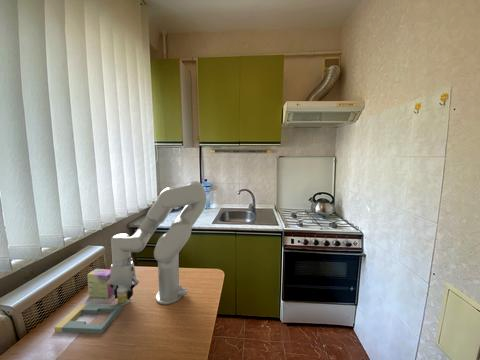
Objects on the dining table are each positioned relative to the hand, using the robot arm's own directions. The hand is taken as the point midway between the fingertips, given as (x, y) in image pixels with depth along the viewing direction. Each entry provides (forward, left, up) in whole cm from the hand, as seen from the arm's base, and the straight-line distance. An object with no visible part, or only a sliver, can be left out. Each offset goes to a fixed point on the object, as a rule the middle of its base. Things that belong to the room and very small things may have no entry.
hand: (123, 296), depth 99 cm
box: (+14, -5, -3) cm, 15 cm away
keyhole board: (+7, +11, -2) cm, 14 cm away
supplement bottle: (0, 0, -3) cm, 3 cm away
